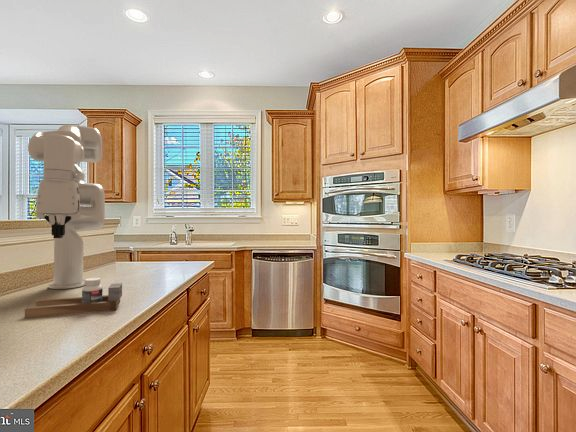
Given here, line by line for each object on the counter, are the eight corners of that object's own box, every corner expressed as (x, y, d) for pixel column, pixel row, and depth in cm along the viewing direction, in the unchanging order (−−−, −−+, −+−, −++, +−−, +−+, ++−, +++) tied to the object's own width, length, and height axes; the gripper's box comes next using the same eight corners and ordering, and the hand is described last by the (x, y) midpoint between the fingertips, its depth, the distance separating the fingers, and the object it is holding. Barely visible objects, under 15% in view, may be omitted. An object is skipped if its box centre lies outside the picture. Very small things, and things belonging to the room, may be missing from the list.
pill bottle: (91, 311, 92) (91, 281, 91) (77, 309, 93) (77, 280, 93) (106, 306, 97) (106, 278, 97) (93, 304, 98) (93, 276, 98)
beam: (38, 307, 94) (38, 286, 94) (122, 301, 102) (122, 281, 102) (24, 317, 85) (24, 294, 85) (118, 310, 93) (118, 288, 93)
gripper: (90, 179, 100) (89, 236, 100) (33, 176, 94) (32, 236, 94) (85, 177, 93) (84, 238, 93) (23, 173, 87) (22, 239, 87)
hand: (58, 237), depth 94 cm, fingers closed
